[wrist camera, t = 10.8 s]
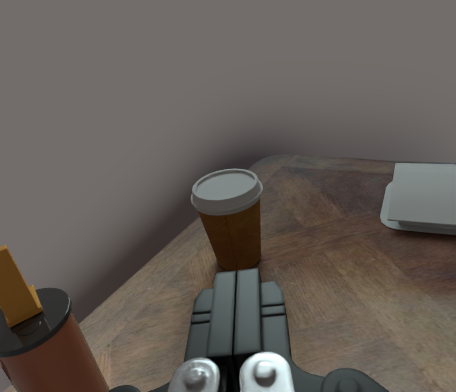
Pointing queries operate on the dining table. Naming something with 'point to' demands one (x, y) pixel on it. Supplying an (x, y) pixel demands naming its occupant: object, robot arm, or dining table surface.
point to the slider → (15, 292)
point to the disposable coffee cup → (231, 216)
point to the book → (421, 198)
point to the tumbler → (49, 350)
